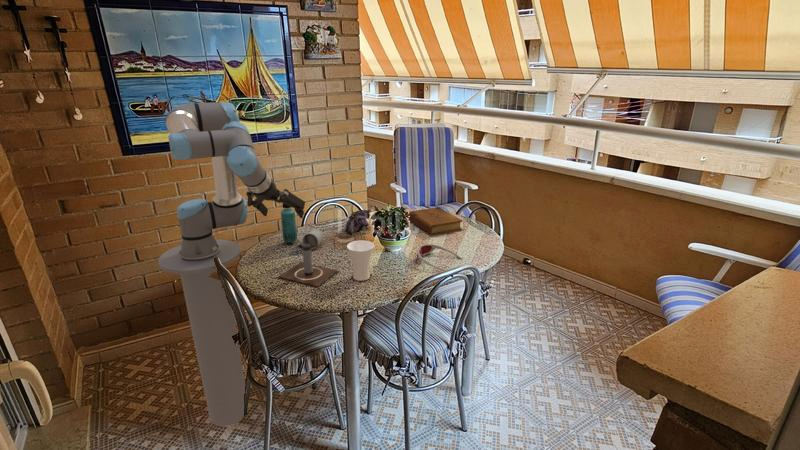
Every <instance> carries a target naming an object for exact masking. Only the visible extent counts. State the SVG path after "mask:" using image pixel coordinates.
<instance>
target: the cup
mask: <svg viewBox="0 0 800 450" xmlns="http://www.w3.org/2000/svg"><path fill="white" fill-rule="evenodd" d="M346 248H347V251H348V254H349V256H350V259H351V262H352V268H353V277H352V278H353V279H354V280H355V281H359V282H362V281H368V280H369V279H370V278H371V275H370V264H371V258H372V255H373V252H374V249H375V243H374V242H373V241H370V240H363V239H362V240H359V239H358V240H353V241H350V242H349V243H347V245H346Z"/></svg>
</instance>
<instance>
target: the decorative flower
mask: <svg viewBox="0 0 800 450" xmlns="http://www.w3.org/2000/svg"><path fill="white" fill-rule="evenodd" d="M370 213H372V211H371V210H368V209H360V210H356V211H353V212H352V213H351V214H350V216H349V218H348V220H347V222H346V224H345V231H346V232H347V233H348V234H349V235H353V234H354V230H355V231H356V233H360V232H361V231H362V229H363V228H365V229H366V230H369V225H370V224H369V222H368V220H370V219H371V218H370V217H371V214H370Z"/></svg>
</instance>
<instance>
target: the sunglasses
mask: <svg viewBox="0 0 800 450" xmlns="http://www.w3.org/2000/svg"><path fill="white" fill-rule="evenodd" d="M436 249H437V250H441V251H444V252H448V253H450V254H452V255H454V256H455V257H457V258H458V259H462V257H461V256H460V255H458V254H456V253H455V252H453V251H451V250H450V249H447V248H445V247H443V246H441V245H438V244H434V243H425V244H421V245H419V246H418V248H417V250H416V252H417V253H416V262H417V263H418V264H419V263H424V264H425V265H427V266H430V267H433V268H435V269H437V270H439V271H441V272H444V271H445V270H446V269H444V268H441V267H439V266H437V265H434V264H432V263H431V262H429V261H427V260H426V259H425V258H423V257H424V256H426V255H428V254H430V253H432V252H433V251H435V250H436ZM422 256H423V257H422Z"/></svg>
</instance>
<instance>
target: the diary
mask: <svg viewBox="0 0 800 450" xmlns="http://www.w3.org/2000/svg"><path fill="white" fill-rule="evenodd" d="M409 215H410V217H409ZM408 221H409V222H411V223H412V224H413V225H415V226H417V227H418V228H419V229H421V230H422V231H423V232H425V233H426V234H428V235H429V236H431V237H433V236H438V235H445V234H449V233H455V232H461V231H462V229H463V228H462V227H461V223H463V219H461V218H460V217H457V216H456V215H455V214H452V213H451V212H448V211H446V210H445V209H443V208H442V207H440V206H436V207H431V208H424V209H418V210H417V209H416V210H410V211H409V212H408Z"/></svg>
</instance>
